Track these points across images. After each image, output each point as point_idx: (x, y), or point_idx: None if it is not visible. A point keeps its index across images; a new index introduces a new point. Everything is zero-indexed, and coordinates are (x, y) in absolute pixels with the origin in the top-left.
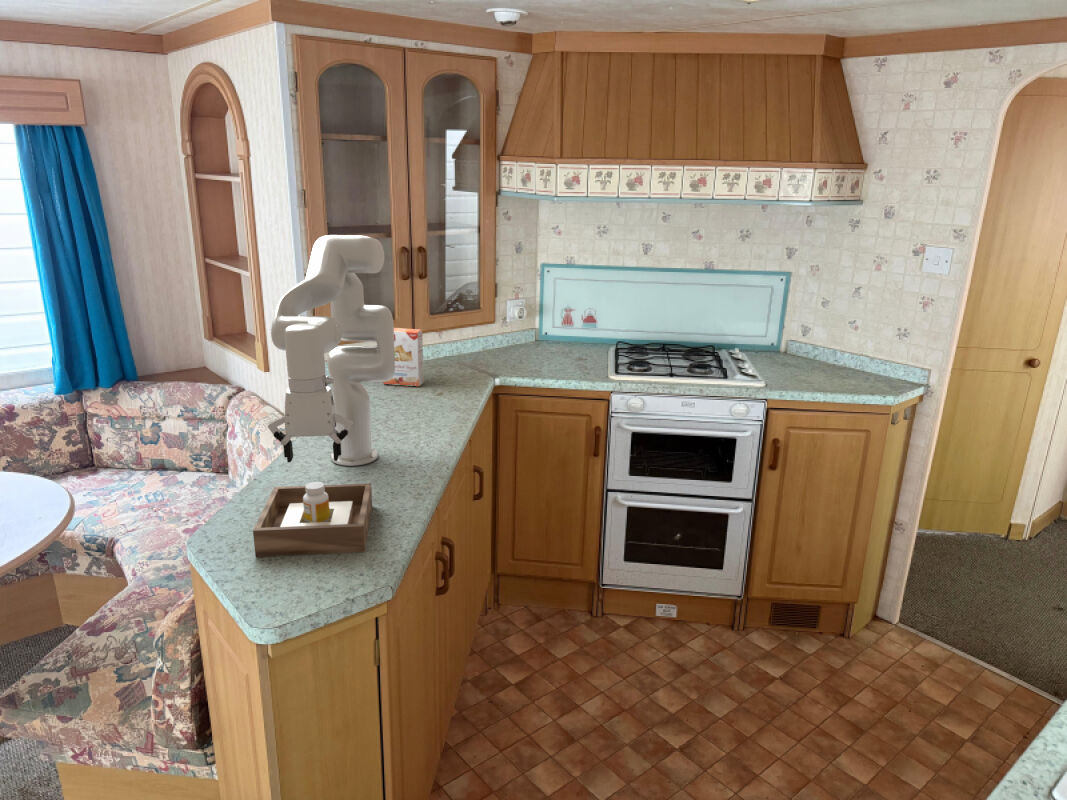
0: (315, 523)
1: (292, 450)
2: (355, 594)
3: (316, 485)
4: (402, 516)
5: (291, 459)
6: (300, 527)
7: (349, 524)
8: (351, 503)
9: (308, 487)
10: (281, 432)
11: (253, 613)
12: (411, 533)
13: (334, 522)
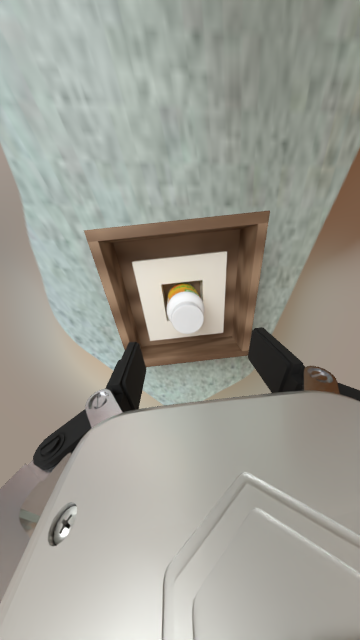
0: None
1: (134, 359)
2: (228, 386)
3: (191, 321)
4: (283, 255)
5: (144, 365)
6: (180, 361)
7: (232, 352)
8: (225, 261)
9: (179, 329)
10: (71, 448)
11: (168, 403)
12: (284, 301)
13: (208, 319)
